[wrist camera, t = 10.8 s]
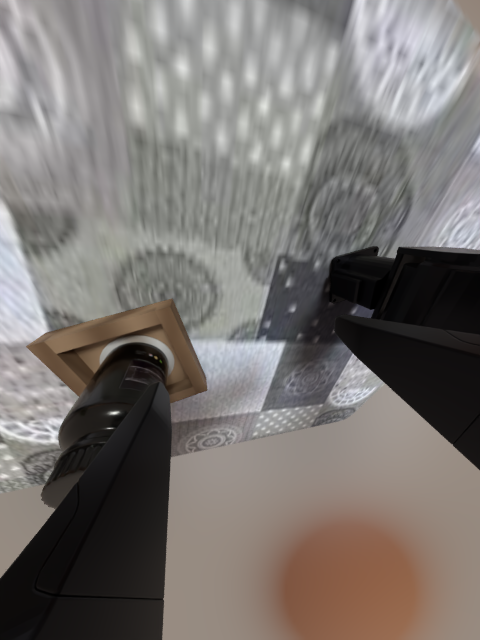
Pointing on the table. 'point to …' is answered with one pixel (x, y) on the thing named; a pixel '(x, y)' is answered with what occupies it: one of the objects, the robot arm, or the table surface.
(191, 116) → the table surface
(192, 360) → the holder
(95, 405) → the supplement bottle
